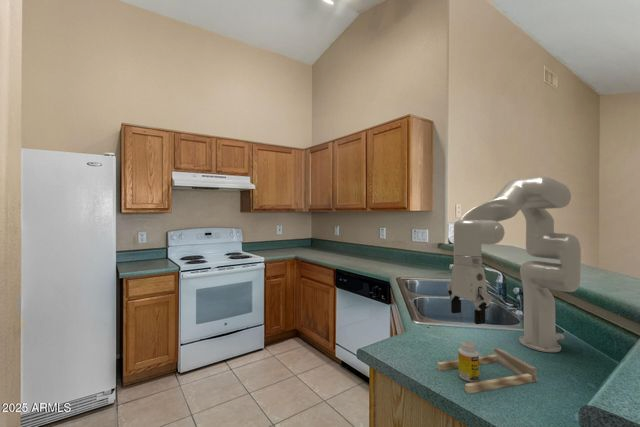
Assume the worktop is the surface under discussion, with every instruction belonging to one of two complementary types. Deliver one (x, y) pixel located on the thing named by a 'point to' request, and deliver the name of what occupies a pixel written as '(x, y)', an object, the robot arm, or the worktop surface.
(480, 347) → the worktop surface
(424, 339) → the worktop surface
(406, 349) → the worktop surface
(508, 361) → the wooden frame
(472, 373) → the supplement bottle
